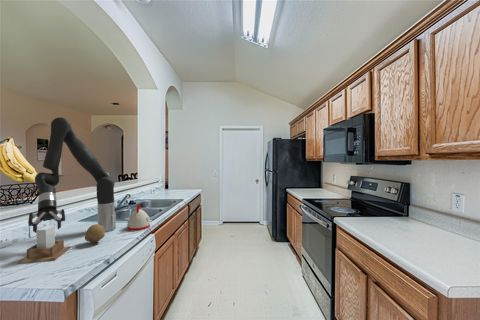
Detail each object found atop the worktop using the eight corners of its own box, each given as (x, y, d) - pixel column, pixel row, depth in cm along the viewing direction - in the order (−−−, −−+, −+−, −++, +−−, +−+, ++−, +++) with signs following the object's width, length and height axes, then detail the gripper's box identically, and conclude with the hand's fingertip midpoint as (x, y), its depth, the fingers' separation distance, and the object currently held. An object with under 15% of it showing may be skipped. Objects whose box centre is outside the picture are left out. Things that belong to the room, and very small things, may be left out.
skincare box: (46, 250, 113) (45, 226, 113) (55, 250, 114) (55, 225, 113) (36, 255, 107) (35, 230, 107) (46, 255, 108) (45, 229, 107)
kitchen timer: (124, 231, 145) (124, 207, 144) (129, 225, 158) (129, 203, 158) (148, 229, 148) (148, 206, 147) (151, 223, 161) (151, 202, 161)
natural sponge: (109, 241, 128) (109, 223, 128) (94, 247, 120) (93, 227, 120) (97, 239, 132) (97, 221, 131) (82, 244, 123) (81, 225, 123)
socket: (70, 248, 119) (70, 238, 119) (55, 260, 105) (54, 249, 105) (38, 250, 116) (38, 240, 116) (18, 263, 102) (18, 252, 102)
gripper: (28, 200, 116) (27, 229, 108) (64, 197, 125) (65, 223, 117) (29, 209, 121) (28, 237, 112) (64, 205, 130) (65, 231, 121)
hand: (47, 230), depth 114 cm, fingers open, 8 cm apart
